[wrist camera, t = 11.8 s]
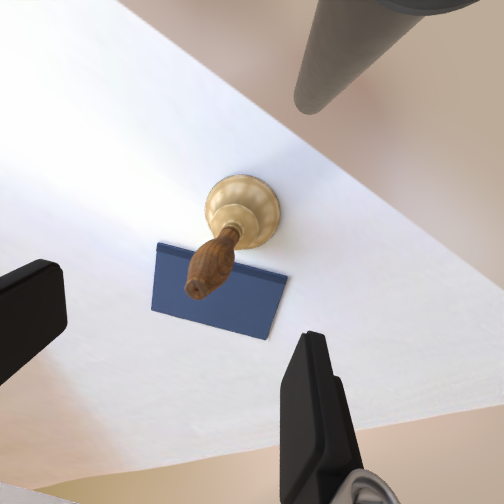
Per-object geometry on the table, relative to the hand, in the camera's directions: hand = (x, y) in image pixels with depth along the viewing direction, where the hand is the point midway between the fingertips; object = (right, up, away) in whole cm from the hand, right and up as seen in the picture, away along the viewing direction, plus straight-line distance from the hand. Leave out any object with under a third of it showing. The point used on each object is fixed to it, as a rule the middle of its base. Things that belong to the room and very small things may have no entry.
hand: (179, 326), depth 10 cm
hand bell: (+2, +7, +18) cm, 20 cm away
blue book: (-2, -2, +22) cm, 22 cm away
